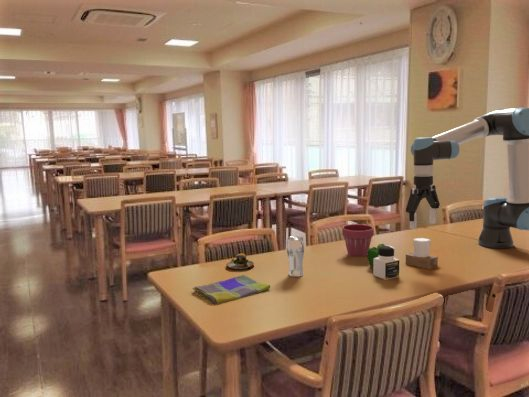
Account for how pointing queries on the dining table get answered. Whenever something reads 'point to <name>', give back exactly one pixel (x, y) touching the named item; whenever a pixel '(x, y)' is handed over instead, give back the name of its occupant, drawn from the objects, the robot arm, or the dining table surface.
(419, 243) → the white cup
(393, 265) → the medicine bottle
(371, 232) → the plant pot
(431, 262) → the walnut base block
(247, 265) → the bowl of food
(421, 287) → the dining table surface
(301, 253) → the beer glass
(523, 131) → the robot arm
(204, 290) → the dish towel
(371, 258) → the bell pepper
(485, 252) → the dining table surface
